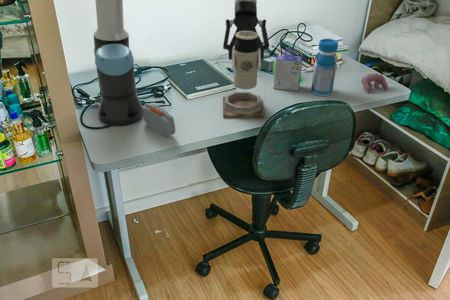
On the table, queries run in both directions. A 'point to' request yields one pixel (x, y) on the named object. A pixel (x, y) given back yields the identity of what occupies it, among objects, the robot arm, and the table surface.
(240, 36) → the travel mug
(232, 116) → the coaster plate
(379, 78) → the pink arch
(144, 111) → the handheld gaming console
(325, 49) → the beverage bottle
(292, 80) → the ink cartridge box
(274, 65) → the puzzle toy
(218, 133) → the table surface
